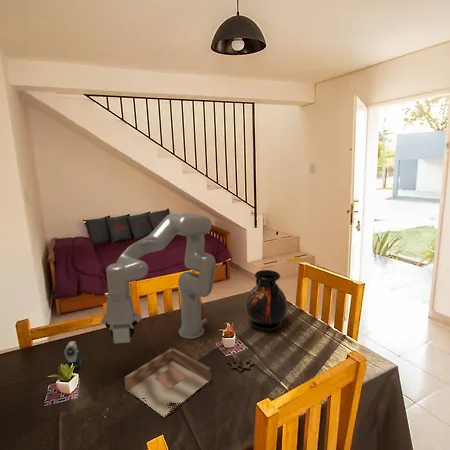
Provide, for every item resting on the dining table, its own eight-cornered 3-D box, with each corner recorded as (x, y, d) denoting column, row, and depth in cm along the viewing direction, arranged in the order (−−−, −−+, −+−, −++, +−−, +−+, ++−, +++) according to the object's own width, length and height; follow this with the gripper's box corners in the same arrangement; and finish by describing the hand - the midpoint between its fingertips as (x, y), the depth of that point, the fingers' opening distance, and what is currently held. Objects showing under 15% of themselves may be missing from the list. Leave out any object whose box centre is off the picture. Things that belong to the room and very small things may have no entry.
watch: (64, 373, 133) (61, 349, 131) (68, 361, 141) (66, 338, 139) (79, 371, 135) (77, 347, 132) (82, 359, 142) (80, 337, 140)
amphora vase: (238, 319, 177) (238, 270, 171) (271, 311, 186) (273, 264, 179) (258, 339, 158) (260, 285, 151) (295, 329, 167) (298, 278, 160)
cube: (117, 334, 134) (115, 321, 132) (132, 333, 134) (131, 320, 133) (114, 343, 128) (112, 329, 126) (129, 342, 129) (128, 328, 127)
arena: (172, 359, 142) (172, 347, 141) (210, 381, 129) (210, 368, 128) (125, 390, 124) (124, 376, 123) (164, 419, 111) (163, 404, 109)
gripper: (93, 301, 122) (98, 343, 126) (140, 298, 124) (143, 340, 128) (98, 292, 129) (103, 333, 134) (143, 289, 131) (146, 329, 135)
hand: (123, 336), depth 131 cm, fingers closed on cube, 6 cm apart
